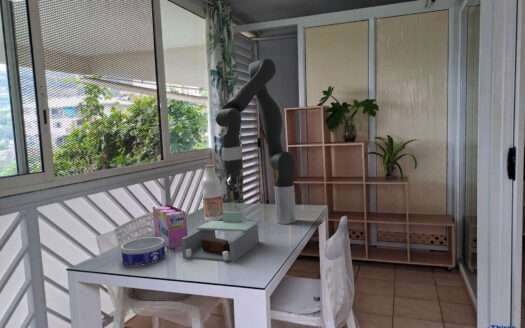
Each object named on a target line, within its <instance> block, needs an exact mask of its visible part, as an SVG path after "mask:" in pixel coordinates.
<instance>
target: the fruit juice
mask: <svg viewBox="0 0 525 328" xmlns="http://www.w3.org/2000/svg"><path fill="white" fill-rule="evenodd" d="M204 169H205V173H204V176H203V178H202V180H201V186H202V202H203V203H202V204H203V215H204V220H205V222H209V221H222V220H223V214H222V212H224V210H223V200H222V198H223V197H222V191H221V187H220V185H221V180H220V179H219V177H218V176H217V174H216V171H215V164H206V165H204Z"/></svg>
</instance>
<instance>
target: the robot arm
mask: <svg viewBox="0 0 525 328" xmlns="http://www.w3.org/2000/svg"><path fill="white" fill-rule="evenodd" d="M276 72H277V68H276V64H275V62H274V61H273V60H272V59H270V58H267V57H266V58H262V59H259V60H256V61H252V62H251V63H250V64H249V66H248V75H249V80H248V81H247V82H246V83H244V84H243V85H242V86H241V87H240V88H239V89H238V90H236V92H235V93H234V94H233V96H232V97H231V99H230V100H229V101H227V102H226V103H225V104H224V105H223V106H222V107H220V108H219V110H218V111H217V112H216V114H215V123H216V124H217V126H218V127H221V128H226V127H227V130H226V132H224V133H222V135H221V145H222V161H223V169H224V171H226V172H227V180H225V181H224V182H225V185H226V186H227V188H228V190H229V192H232V196H233V197H232V198H233V201H234V202H235V201H240V200H241V198H240V197H241V196H240V190H241V189H242V187H243V182H244V175H243V174H241V170H243V167H244V166H243V157H242V150H241V144H240V133H241V125H242V115H241V113H242V112H244V111H245V110H246V108H248V105H250V103H251V102H252V100H253V99H254V97H256V98H255V99H256V101H257V105H258V109H259V114H260V119H261V124H262V127H263V130H264V131H263V132H264V136H265V140H266V145H267V152H268V159H269V164H270V166H271V168H272V169H273V170H274V171H277V177H276V179H274V181H273V186H274V200H275V201H274V202H275V215H276V216H275V217H276V223H278V224H280V225H289V224H295V222H297V212H296V195H295V194H296V193H295V180H296V160H295V157H294V155H293V154H292V153H291V152H289V151H284V150H283V145H282V139H281V135H282V130H283V118H282V113H281V110H280V107H279V105H278V104H277V102H276V101H275V99H274V98H273V97H272V96H271V95H270V94H269V91H268V89H267V85H266V84H268V82H269V81H271V80H272V79H273V78H274V76H275V75H276Z"/></svg>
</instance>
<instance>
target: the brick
mask: <svg viewBox="0 0 525 328" xmlns="http://www.w3.org/2000/svg"><path fill="white" fill-rule="evenodd" d="M202 248H203V250H204V251H206V252H211V253H216V254H222V255H223V252H224V251H228V252H230V246H229V241H228V239H223V238H217V237H216V238H214V237H207V238H204V239H202Z"/></svg>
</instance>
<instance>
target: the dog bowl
mask: <svg viewBox="0 0 525 328" xmlns="http://www.w3.org/2000/svg"><path fill="white" fill-rule="evenodd" d="M120 251H121V259H122V263H123V264H124V263H125V264H124V265H126V264H128V265H127V266H129V265H139V266H143V265H142V264H146V265H149V264H148V263H151V264H153V263H152V262H154V263H156V262H155V261H157V262H159V261H161V260H163V259H164V258H165V257H164V256H166V245H165V244H164V239H162V238H159V237H155V236H147V237H146V236H145V237H139V238H135V239H132V240H128V241H126V242H124V243H122V244H121V245H120ZM163 257H164V258H163ZM162 258H163V259H162ZM160 259H161V260H160ZM158 260H159V261H158Z"/></svg>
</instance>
